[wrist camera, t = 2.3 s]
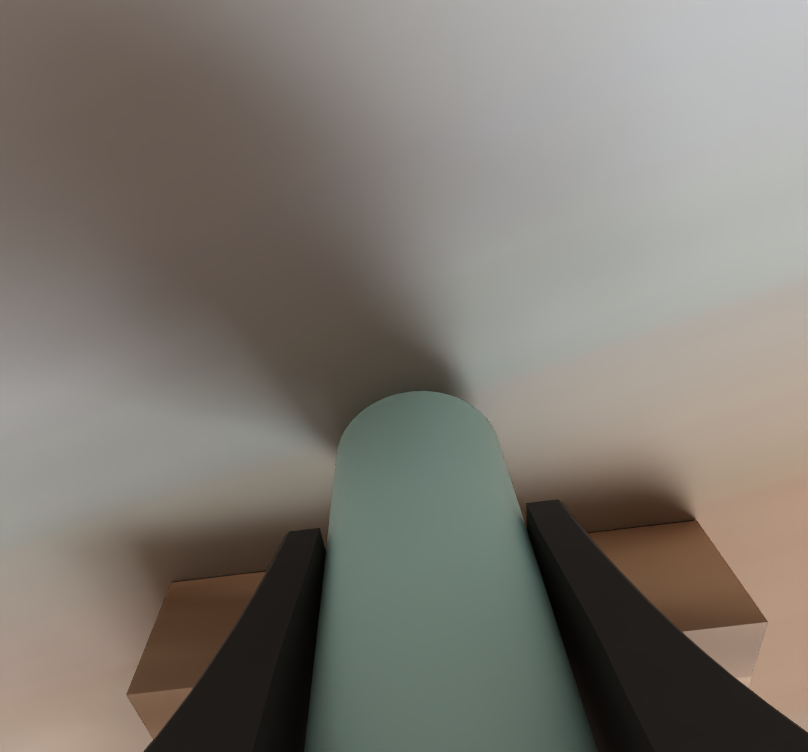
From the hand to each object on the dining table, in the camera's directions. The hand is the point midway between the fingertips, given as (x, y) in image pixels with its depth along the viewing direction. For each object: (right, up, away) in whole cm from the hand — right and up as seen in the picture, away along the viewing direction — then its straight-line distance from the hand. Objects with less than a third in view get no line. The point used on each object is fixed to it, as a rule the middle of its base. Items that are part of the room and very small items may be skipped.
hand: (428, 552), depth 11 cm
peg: (0, +1, +3) cm, 3 cm away
